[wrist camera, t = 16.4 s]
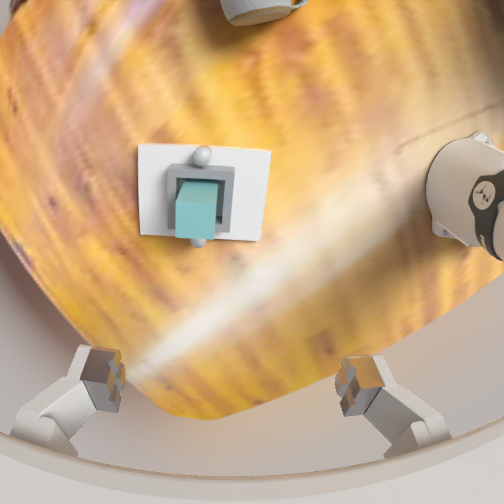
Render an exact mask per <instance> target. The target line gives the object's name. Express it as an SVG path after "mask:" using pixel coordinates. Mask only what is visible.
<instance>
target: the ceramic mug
mask: <svg viewBox="0 0 504 504" xmlns="http://www.w3.org/2000/svg"><path fill="white" fill-rule="evenodd" d="M307 2H308V0H300V1H299V3H298V4H297V5H294V6H291V0H220V3H221V6H222V9H223V12H224V15H225V16H226V18H227V20H228V22H229V23H230V24H232V25H234V26H248V25H255V24H260V23H265V22H269V21H273V20H277V19H281V18H283V17H286V16H287V15H289V13H290V12H291V10H294V9H297V8H300V7H302V6H304V5H305V4H306V3H307Z"/></svg>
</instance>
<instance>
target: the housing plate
mask: <svg viewBox="0 0 504 504" xmlns="http://www.w3.org/2000/svg"><path fill="white" fill-rule="evenodd" d="M270 160H271V150H264V149H253V148H242V147H228V146H212V145H192V144H158V143H141V144H139V145H138V190H139V217H140V234H141V235H160V236H176V231H175V222H176V199H177V197H178V195H179V192H180V190H181V188H182V185H183V183H184V181H185V179H186V178H192V179H210V180H218V193H217V208H216V220H215V232H214V239H231V240H248V241H260V238H261V230H262V222H263V215H264V207H265V199H266V192H267V184H268V176H269V168H270ZM190 243H191V245H192V246H194V247H196V248H201V247H203V246H204V245H205V244H206V239H192V238H190Z"/></svg>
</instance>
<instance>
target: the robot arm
mask: <svg viewBox="0 0 504 504" xmlns="http://www.w3.org/2000/svg"><path fill="white" fill-rule="evenodd" d="M426 197H427V202H428V206H429V209H430V211H431V214H432V231H433V233H434V234H436V235H437V236H440V237H446V238H452V239H457V240H459V241H461V242H462V243H463V244H464V245H466V246H468V247H469V246H470V245H471V246H474V247H483V248H484V249H485V250H486V251H487V252H488V253H489V254H490V255H491V256H493V257H495V258H496V259H498V260H500V261H504V152H503V151H501V150H499V149H497V148H496V147H495V146H494V145H493V143H492V142H491V140H490V139H489V138H488V136H487V135H486V134H485V133H484V132H482V131H477V132H476V133H474V134H473V135H471V136H470V137H469V138H465V139H458V140H455V141H453V142H451V143H449V144H448V145H446V146H445V147H444V148H443V149H442V150H441V151H440V152H439V153H438V155H437V156H436V158H435V159H434V161H433V163H432V165H431V168H430V171H429V174H428V178H427V184H426ZM120 360H121V353H120V351H119V350H114V349H108V348H102V347H96V346H89V345H83V344H81V345H80V346H79V347H78V349H77V351H76V353H75V356H74V358H73V361H72V363H71V365H70V368H69V371H68V373H67V375H66V377H61V378H60V379H59V380H57V381H56V382H55V383H53V384H52V385H50V386H49V387H48V388H46V389H45V390H44V391H42V392H41V393H40V394H38V395H37V396H36V397H34V398H33V399H32V400H31V401H29V402H27V403H26V404H25V405H23V406H22V407H21V408H20V409H19V412H18V414H17V417H16V420H15V422H14V425H13V428H12V430H11V433H10V436H9V435H7V434H4V433H1V432H0V504H504V417H502V418H500V419H498V420H496V421H494V422H492V423H490V424H487V425H485V426H483V427H480V428H478V429H476V430H473V431H471V432H468V433H466V434H463V435H461V436H458V437H455V438H452V437H451V435H450V433H449V430H448V428H447V426H446V424H445V422H444V420H443V417H442V415H441V414H440V413H438V412H437V411H436V410H434V409H433V408H431V407H430V406H429V405H427V404H426V403H425V402H423V401H422V400H420V399H419V398H418V397H416V396H415V395H413V394H412V393H411V392H409V391H408V390H407V389H405V388H404V387H403V386H401V385H397V384H396V382H395V380H394V378H393V375H392V373H391V371H390V369H389V368H388V365H387V363H386V361H385V359H384V357H383V355H381V354H375V355H361V356H348V357H345V358H344V359H343V361H342V363H341V364H342V368H341V369H340V370H338V372H337V374H336V377H335V386H336V387H335V388H336V392H337V394H338V395H339V396H341V397H342V400H341V402H340V405H341V408H342V411H343V415H344V417H345V416H355V415H363V414H364V416H365V417H366V418H367V419H368V420H369V421H370V422H371V423H372V424H373V425H374V426H375V427H376V428H377V429H378V430H379V431H380V432H381V433H382V434H383V435H384V436H385V437H386V438H387V439H388V440H389V441H390V442H391V443H392V446H391V447H390V448H389V449H388V450H387V451H386V452H385V453H384V458H385V459H382V460H377V461H373V462H368V463H363V464H358V465H353V466H348V467H342V468H335V469H330V470H322V471H314V472H306V473H296V474H284V475H270V476H240V477H239V476H237V477H236V476H235V477H234V476H230V477H229V476H197V475H182V474H171V473H161V472H153V471H145V470H137V469H132V468H125V467H120V466H114V465H109V464H104V463H99V462H95V461H90V460H86V459H82V458H78V457H77V455H78V452H77V450H76V449H75V448H74V446H73V445H72V444H71V443H70V441H69V439H70V438H71V437H72V436H73V435H74V434H75V433H76V432H77V431H78V430H79V429H80V428H81V427H82V426H83V425H84V424H85V423H86V422H87V421H88V420H89V419H90V418H91V416H92V415H93V414H94V413H95V412H96V411H97V410H102V411H108V412H115V413H118V410H119V406H120V401H121V396H120V394H119V392H120V391H121V390H123V388H124V384H125V368H124V365H123V364H122V363H121V362H120Z"/></svg>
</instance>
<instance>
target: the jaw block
mask: <svg viewBox="0 0 504 504" xmlns="http://www.w3.org/2000/svg"><path fill="white" fill-rule="evenodd" d="M217 193H218V180H210V179H192V178H186V179H185V181H184V183H183V185H182V188H181V190H180V192H179V195H178V197H177V199H176V222H175V231H176V238H192V239H209V240H214V232H215V220H216V208H217Z"/></svg>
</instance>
